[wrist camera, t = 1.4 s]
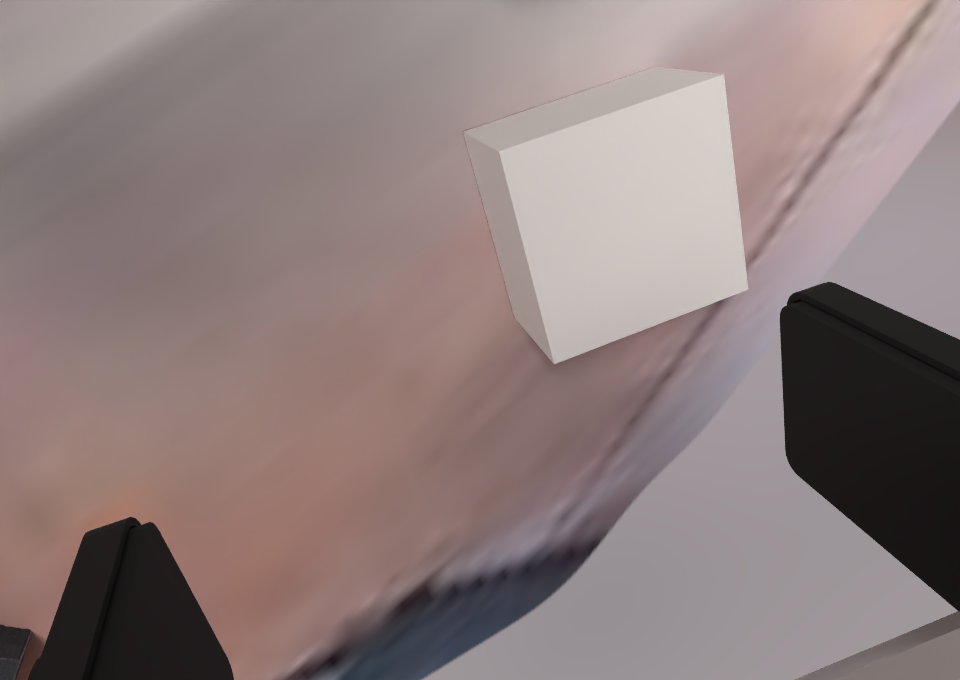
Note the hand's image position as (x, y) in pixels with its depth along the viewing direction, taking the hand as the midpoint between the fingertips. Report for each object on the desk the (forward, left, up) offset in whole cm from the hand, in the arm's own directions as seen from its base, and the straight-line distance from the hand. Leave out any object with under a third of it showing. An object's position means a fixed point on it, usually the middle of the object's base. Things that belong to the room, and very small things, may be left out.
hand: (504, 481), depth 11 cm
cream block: (+5, +11, -26) cm, 29 cm away
